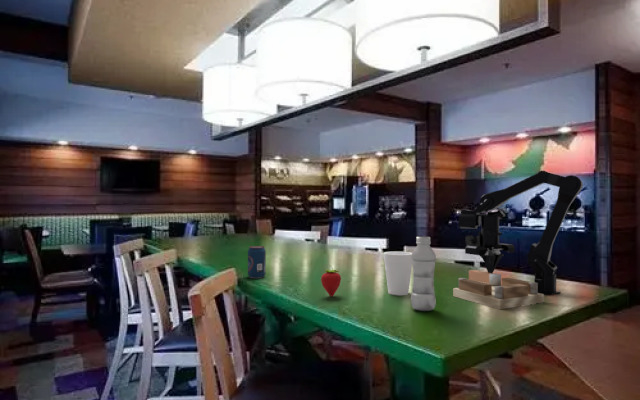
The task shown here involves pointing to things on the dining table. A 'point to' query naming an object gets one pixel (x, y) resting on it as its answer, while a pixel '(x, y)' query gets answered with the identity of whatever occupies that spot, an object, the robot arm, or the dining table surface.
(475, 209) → the robot arm
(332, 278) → the strawberry
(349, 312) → the dining table surface
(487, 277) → the hinged leg
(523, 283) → the flat cream base board
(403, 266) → the foam cup
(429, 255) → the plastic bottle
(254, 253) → the soda can
